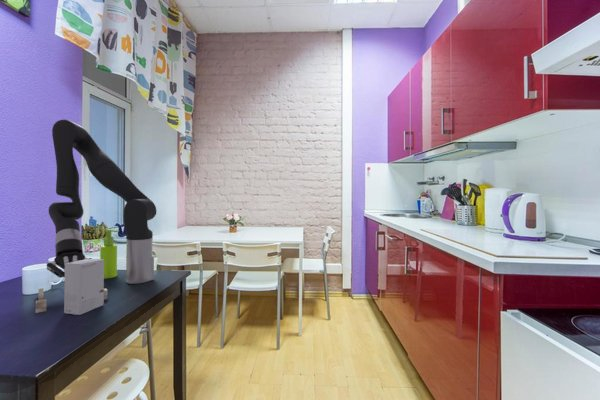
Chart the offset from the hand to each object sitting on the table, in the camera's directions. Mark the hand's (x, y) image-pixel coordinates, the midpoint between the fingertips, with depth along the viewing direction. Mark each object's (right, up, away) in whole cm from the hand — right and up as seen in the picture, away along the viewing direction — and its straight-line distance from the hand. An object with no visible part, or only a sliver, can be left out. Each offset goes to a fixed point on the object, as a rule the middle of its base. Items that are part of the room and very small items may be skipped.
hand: (71, 285), depth 95 cm
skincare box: (+11, -5, -9) cm, 15 cm away
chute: (-1, -4, +1) cm, 4 cm away
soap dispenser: (-4, -4, +25) cm, 26 cm away
